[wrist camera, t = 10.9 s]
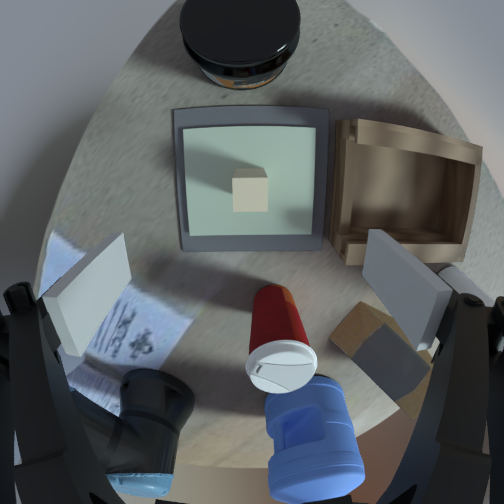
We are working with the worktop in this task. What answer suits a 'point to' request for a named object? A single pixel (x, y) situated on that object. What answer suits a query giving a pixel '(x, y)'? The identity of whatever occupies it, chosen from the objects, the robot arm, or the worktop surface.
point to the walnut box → (402, 190)
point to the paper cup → (278, 343)
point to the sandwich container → (385, 356)
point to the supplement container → (240, 39)
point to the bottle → (465, 285)
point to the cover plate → (249, 153)
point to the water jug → (312, 444)
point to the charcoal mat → (255, 117)
